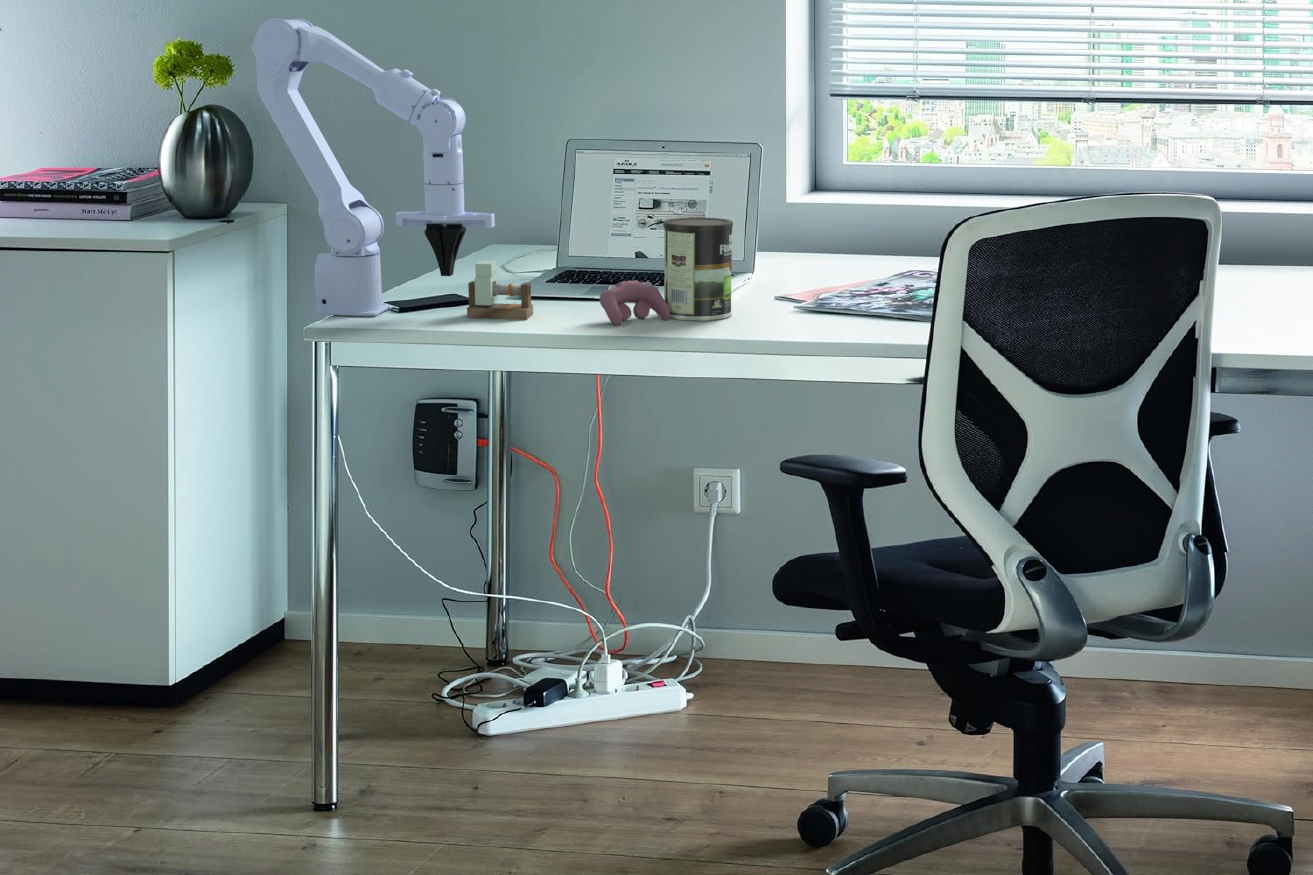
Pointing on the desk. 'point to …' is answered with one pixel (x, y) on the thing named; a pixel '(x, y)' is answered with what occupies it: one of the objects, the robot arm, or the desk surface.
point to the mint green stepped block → (485, 282)
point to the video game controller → (637, 293)
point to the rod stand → (502, 310)
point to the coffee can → (698, 268)
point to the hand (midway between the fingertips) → (447, 275)
